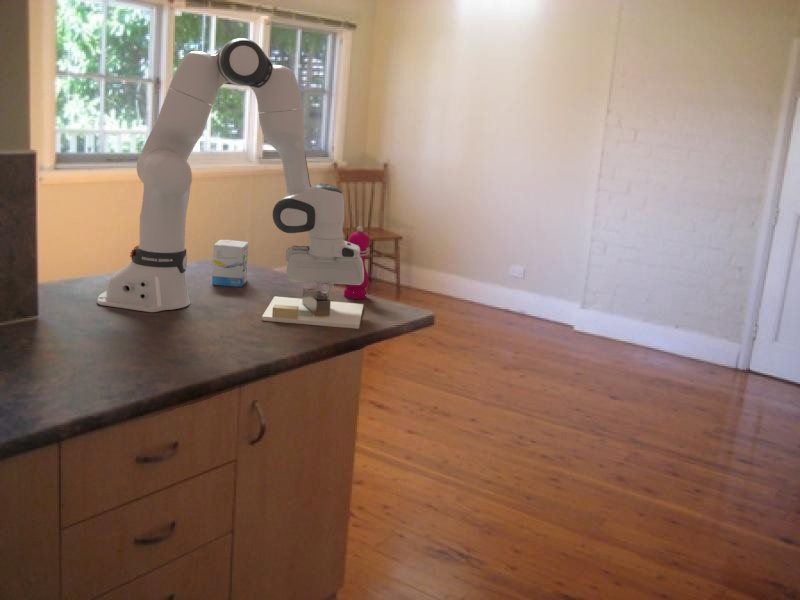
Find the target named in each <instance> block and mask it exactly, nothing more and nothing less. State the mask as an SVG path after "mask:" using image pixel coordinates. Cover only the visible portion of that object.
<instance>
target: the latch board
mask: <svg viewBox="0 0 800 600" xmlns="http://www.w3.org/2000/svg"><path fill="white" fill-rule="evenodd" d="M330 301H331V300H330ZM363 312H364V303H355V302H343V301H342V302H341V301H331V302H330V315H326V316H316V315H315V314H314V313H313V312H312V311H311V310H310V309H309V308H308V307H307V306H306V305H305V304H304V303H303V302H302V298H296V297H287V296H276V295H275V296H273V298H272V300H271V301H270V303H269V305H268V306H267V308H266V309H265V311H264V313H263V314H262V316H261V321H264V322H265V321H266V322H277V323H278V322H279V323H289V324H299V325H301V324H302V325H309V326H310V325H312V326H323V327H335V328H343V329H344V328H346V329H357V330H359V329H360V326H361V325H360V324H361V319H362V315H363Z"/></svg>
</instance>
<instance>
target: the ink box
mask: <svg viewBox="0 0 800 600" xmlns="http://www.w3.org/2000/svg"><path fill="white" fill-rule="evenodd" d="M212 257H213V258H212V259H213V260H212V277H211V283H212V284H211V285H213V286H214V285H215V286H225V287H237V288H242V287H243V286H244V285H245V283H246V282H247V280H248V279H247V278H248V262H249V261H248V260H249V241H243V240H233V239H218V241H216V242H215V243H214V244H213V253H212Z"/></svg>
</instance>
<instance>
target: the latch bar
mask: <svg viewBox="0 0 800 600" xmlns="http://www.w3.org/2000/svg"><path fill="white" fill-rule="evenodd" d="M301 299H302V302H303V303H304V304H305V305H306V306H307V307H308V308H309V309H310V310H311V311H312V312H313V313H314V314H315V315H316V316H326V315H330V302H331V300H330V299H328V296H326V295H324V294H322V293H321V292H320V291H319V290H318V288H317V287H314V286H303V287H302V298H301Z"/></svg>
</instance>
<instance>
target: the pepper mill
mask: <svg viewBox="0 0 800 600" xmlns="http://www.w3.org/2000/svg"><path fill="white" fill-rule="evenodd" d="M363 231H364V227H363V226H357V227H356V231H354V232H352V233H351V234H350V235H349V237H348V241H347V242H350V243H352V244H355V245H358V246H359V247H360V254H359V256H360V257H361V258H362V261H363V268H364V281H363V283H362V284H361V285H351V284H343V285H344V286H345V288H344V290H343V296H344V297H345V298H347V299H353V300H362V299H365V298H366V297H367V290H366V288H367V287H369V284H370V283H369V282H370V280H369V279H370V278H369V274H368V271H367V269H366V262H365V261H366V256H367V255H368V248H369V246H370V243H371V240H370V236H369V235H368V234H367V233H366V232H363ZM353 292H354V293H353ZM365 295H366V296H365Z"/></svg>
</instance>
